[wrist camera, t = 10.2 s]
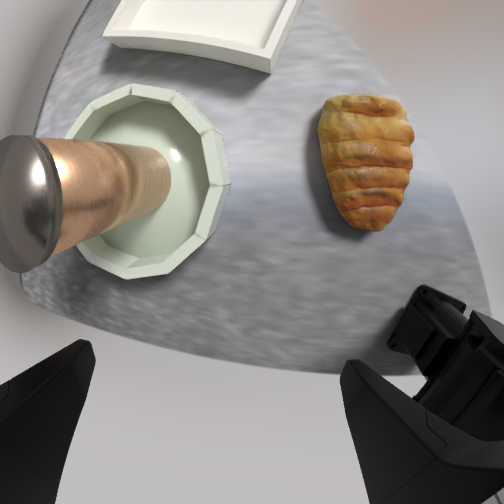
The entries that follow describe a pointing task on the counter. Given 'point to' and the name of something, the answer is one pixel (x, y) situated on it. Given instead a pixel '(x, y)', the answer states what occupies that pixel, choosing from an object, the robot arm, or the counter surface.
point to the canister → (71, 193)
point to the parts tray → (207, 28)
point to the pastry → (366, 157)
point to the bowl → (182, 178)
